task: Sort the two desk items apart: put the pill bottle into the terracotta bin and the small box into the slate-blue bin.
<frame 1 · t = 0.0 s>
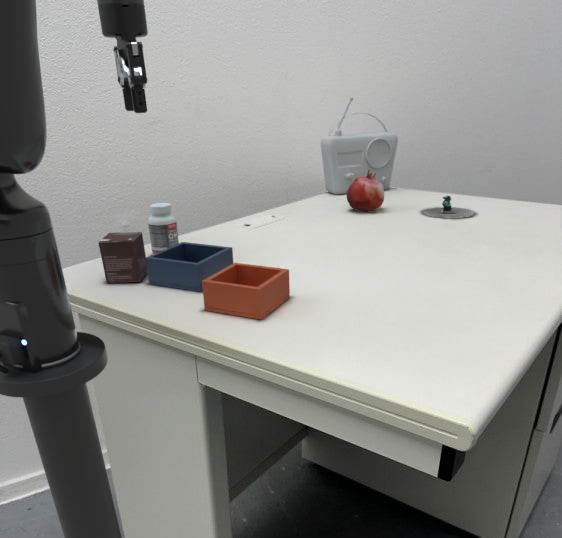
hand: (136, 111, 98), 26 cm above the table, tool pointing down, fingers open, 8 cm apart
pill bottle: (166, 256, 108), on the table
box: (128, 278, 96), on the table
sculpture: (448, 213, 133), on the table
terracotta bin: (248, 303, 83), on the table
slate bin: (192, 278, 95), on the table
radio: (358, 191, 161), on the table
fruit: (364, 211, 138), on the table
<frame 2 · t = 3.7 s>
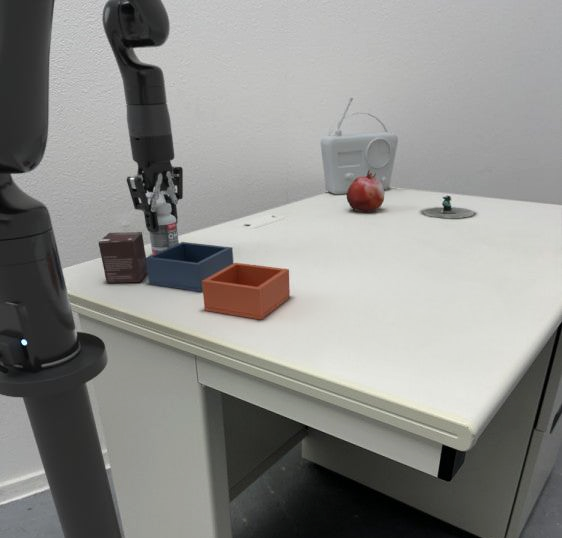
hand: (162, 227, 105), 5 cm above the table, tool pointing down, fingers closed on pill bottle, 5 cm apart
pill bottle: (166, 256, 108), on the table, touching gripper
everything else where it was.
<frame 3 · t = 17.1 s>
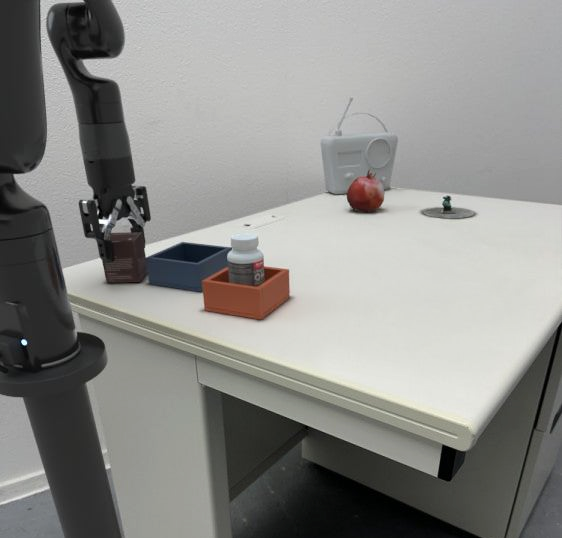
hand: (124, 255, 94), 4 cm above the table, tool pointing down, fingers closed on box, 7 cm apart
pill bottle: (248, 301, 83), resting on terracotta bin
box: (128, 278, 96), on the table, touching gripper
everything else where it was.
when the fingers open (5 cm above the table, at t = 24.4 s): box stays where it is, resting on slate bin.
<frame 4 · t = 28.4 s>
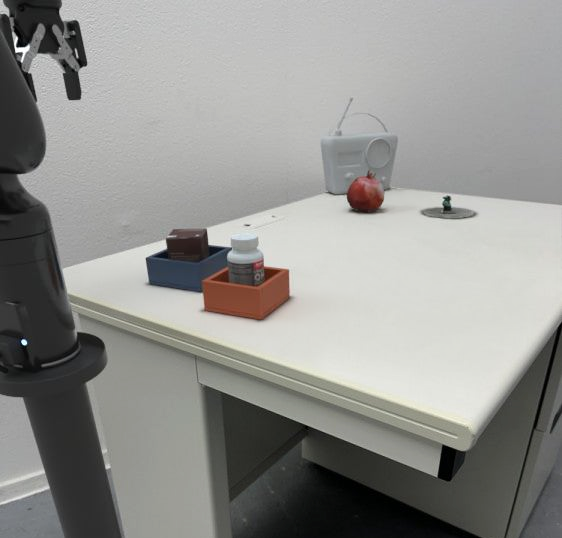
hand: (53, 101, 80), 28 cm above the table, tool pointing down, fingers open, 8 cm apart
box: (191, 276, 95), resting on slate bin
everything else where it was.
at the end: pill bottle inside the target area in the terracotta bin (0.1 cm from its centre), point 0.4 cm above the terracotta bin's base; box inside the target area in the slate bin (0.1 cm from its centre), point 0.4 cm above the slate bin's base; pill bottle tilted 0° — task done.
